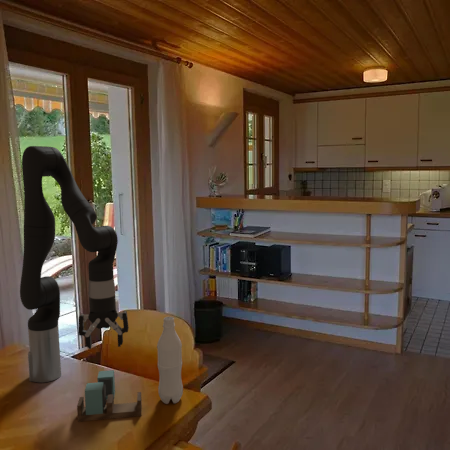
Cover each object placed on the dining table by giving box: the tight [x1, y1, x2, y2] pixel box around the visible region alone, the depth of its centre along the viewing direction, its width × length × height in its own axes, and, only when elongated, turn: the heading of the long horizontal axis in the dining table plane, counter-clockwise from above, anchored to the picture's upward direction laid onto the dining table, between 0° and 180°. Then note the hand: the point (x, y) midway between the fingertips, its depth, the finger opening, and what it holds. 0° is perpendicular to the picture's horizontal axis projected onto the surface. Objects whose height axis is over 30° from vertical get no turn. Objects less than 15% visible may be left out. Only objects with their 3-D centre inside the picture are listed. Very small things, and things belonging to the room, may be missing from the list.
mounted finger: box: [84, 381, 107, 415], centre depth 131 cm, size 5×4×7 cm
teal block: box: [97, 369, 116, 401], centre depth 142 cm, size 5×4×7 cm
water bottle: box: [156, 316, 184, 405], centre depth 138 cm, size 7×7×25 cm
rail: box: [76, 391, 143, 422], centre depth 132 cm, size 17×5×4 cm, turn 99°
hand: (104, 347), depth 141 cm, fingers open, 8 cm apart
